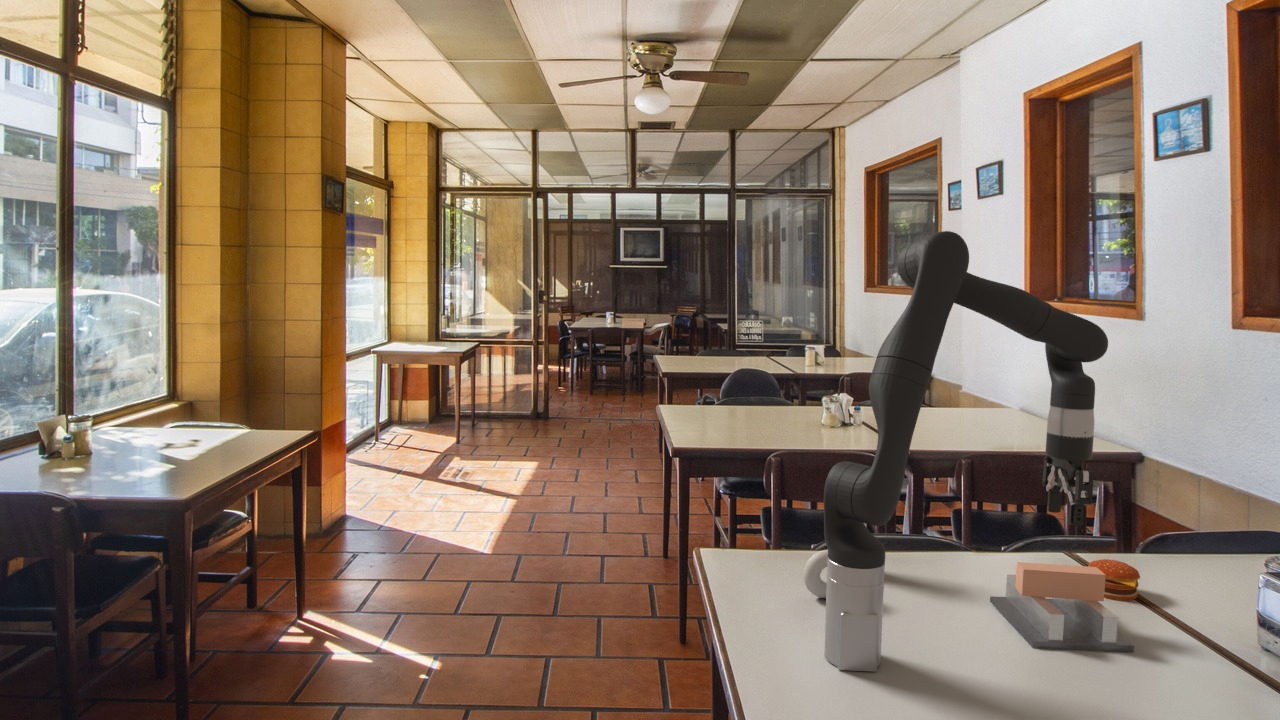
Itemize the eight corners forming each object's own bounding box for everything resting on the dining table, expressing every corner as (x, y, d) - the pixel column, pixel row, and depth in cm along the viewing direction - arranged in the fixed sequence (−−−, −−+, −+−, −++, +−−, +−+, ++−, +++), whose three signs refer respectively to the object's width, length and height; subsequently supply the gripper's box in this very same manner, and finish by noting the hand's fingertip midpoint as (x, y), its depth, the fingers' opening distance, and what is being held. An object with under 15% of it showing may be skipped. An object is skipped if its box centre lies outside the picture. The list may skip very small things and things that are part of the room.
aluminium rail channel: (1133, 652, 136) (1136, 618, 135) (1032, 647, 137) (1034, 614, 137) (1077, 605, 156) (1079, 576, 155) (989, 602, 157) (991, 573, 156)
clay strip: (1103, 601, 143) (1105, 574, 142) (1021, 595, 145) (1023, 569, 145) (1094, 593, 147) (1096, 567, 146) (1015, 587, 149) (1016, 561, 149)
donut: (806, 602, 156) (807, 554, 155) (799, 596, 159) (801, 548, 158) (853, 599, 157) (855, 551, 157) (845, 593, 161) (847, 545, 160)
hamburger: (1083, 595, 162) (1085, 563, 161) (1088, 581, 170) (1090, 551, 169) (1137, 605, 156) (1139, 573, 156) (1140, 591, 164) (1142, 560, 164)
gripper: (1112, 439, 136) (1105, 531, 137) (1072, 425, 150) (1067, 508, 151) (1067, 438, 136) (1061, 529, 138) (1032, 424, 150) (1026, 507, 152)
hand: (1064, 518), depth 145 cm, fingers open, 8 cm apart
